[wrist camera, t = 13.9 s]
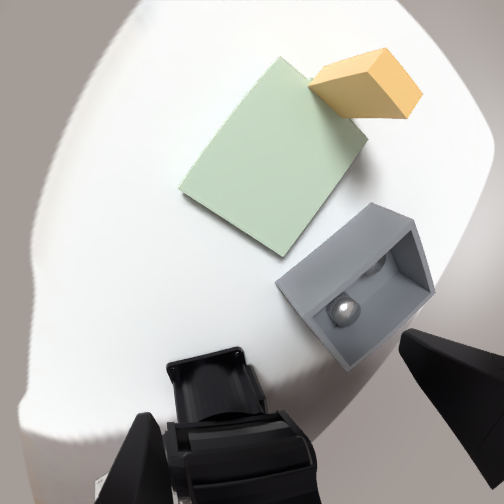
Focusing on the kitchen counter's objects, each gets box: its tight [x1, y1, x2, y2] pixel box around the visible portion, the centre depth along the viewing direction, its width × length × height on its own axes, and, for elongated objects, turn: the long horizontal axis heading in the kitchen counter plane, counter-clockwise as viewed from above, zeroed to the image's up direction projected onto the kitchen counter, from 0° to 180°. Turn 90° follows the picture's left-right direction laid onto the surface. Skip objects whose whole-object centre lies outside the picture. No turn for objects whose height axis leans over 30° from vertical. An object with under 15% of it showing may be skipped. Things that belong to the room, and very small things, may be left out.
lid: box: [178, 48, 423, 257], centre depth 16 cm, size 12×8×8 cm
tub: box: [275, 203, 435, 373], centre depth 22 cm, size 10×8×5 cm
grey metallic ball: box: [326, 292, 361, 327], centre depth 24 cm, size 2×2×2 cm
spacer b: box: [365, 254, 386, 275], centre depth 23 cm, size 2×2×2 cm
